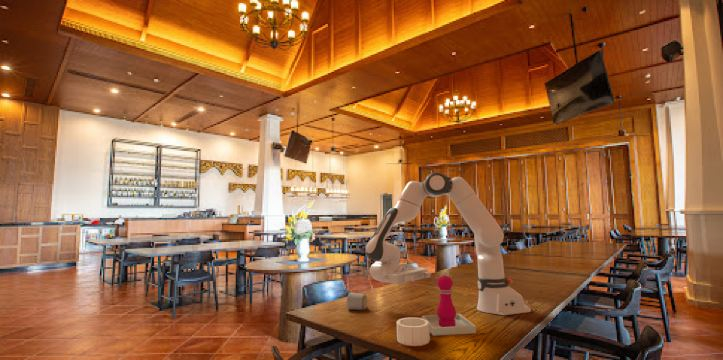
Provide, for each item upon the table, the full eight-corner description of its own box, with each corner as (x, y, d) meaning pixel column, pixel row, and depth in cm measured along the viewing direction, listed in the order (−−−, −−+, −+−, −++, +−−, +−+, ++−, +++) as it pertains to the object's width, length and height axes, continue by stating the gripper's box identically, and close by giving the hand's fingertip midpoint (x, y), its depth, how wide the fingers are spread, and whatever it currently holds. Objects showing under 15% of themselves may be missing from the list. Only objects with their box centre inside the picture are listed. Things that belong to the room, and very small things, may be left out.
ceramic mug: (363, 312, 156) (363, 294, 157) (346, 311, 158) (346, 294, 159) (369, 306, 166) (369, 290, 167) (353, 305, 168) (353, 289, 169)
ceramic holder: (424, 333, 125) (423, 316, 126) (433, 344, 114) (432, 326, 115) (395, 335, 124) (394, 318, 125) (400, 346, 113) (400, 328, 114)
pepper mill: (443, 329, 127) (440, 274, 129) (434, 323, 134) (431, 271, 136) (460, 326, 129) (457, 272, 131) (450, 321, 136) (447, 270, 138)
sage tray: (460, 320, 140) (459, 313, 140) (476, 333, 124) (475, 325, 124) (421, 322, 139) (421, 315, 139) (433, 335, 123) (432, 328, 123)
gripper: (380, 270, 147) (404, 273, 136) (412, 264, 160) (436, 266, 149) (381, 285, 146) (405, 289, 135) (413, 278, 159) (437, 281, 148)
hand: (421, 277), depth 142 cm, fingers open, 8 cm apart
